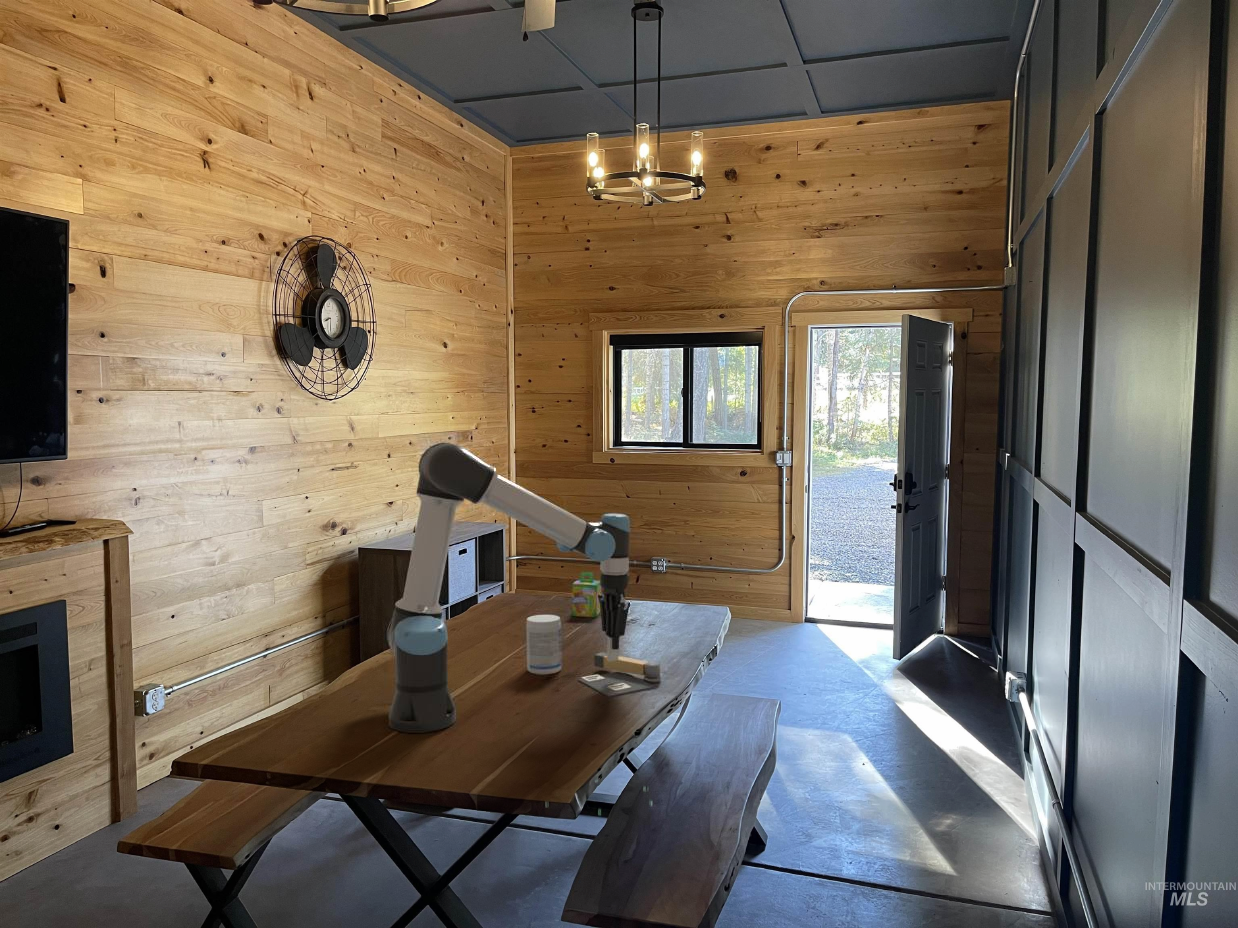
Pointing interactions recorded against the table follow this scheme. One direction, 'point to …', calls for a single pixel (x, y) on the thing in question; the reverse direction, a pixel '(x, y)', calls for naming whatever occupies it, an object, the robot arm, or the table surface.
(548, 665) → the supplement tub
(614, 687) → the label
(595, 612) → the chalk box
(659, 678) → the pivot post
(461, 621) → the table surface
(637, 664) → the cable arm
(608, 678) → the mat
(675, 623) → the table surface
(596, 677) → the label
